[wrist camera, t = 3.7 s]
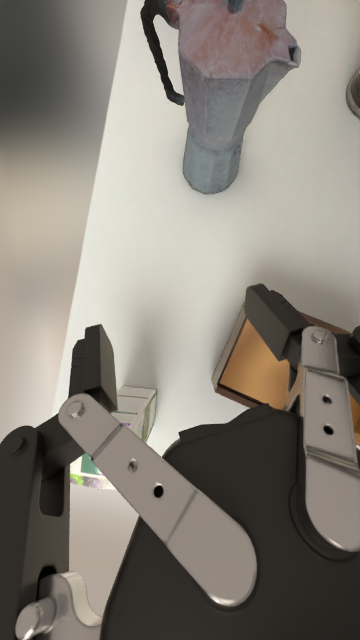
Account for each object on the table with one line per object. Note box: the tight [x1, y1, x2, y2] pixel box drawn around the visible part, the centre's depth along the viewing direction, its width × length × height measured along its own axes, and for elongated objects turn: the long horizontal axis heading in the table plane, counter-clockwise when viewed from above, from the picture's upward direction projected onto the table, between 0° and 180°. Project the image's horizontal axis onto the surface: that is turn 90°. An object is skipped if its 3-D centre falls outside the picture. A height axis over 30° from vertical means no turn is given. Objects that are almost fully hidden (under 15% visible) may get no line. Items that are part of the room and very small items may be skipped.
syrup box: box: [70, 386, 157, 490], centre depth 28 cm, size 6×6×14 cm
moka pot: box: [140, 0, 301, 194], centre depth 26 cm, size 10×15×20 cm, turn 69°
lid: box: [220, 319, 360, 446], centre depth 23 cm, size 18×11×10 cm, turn 67°
